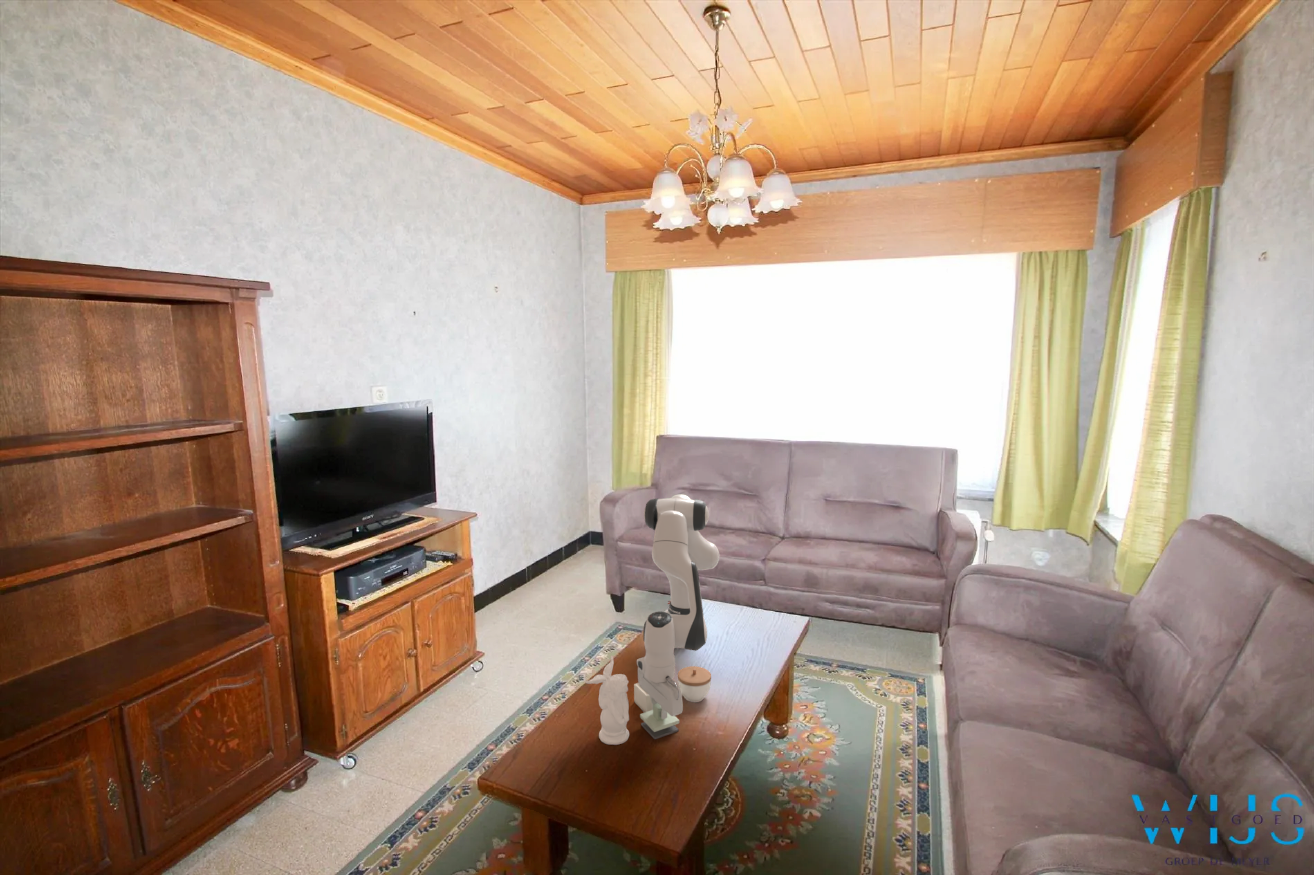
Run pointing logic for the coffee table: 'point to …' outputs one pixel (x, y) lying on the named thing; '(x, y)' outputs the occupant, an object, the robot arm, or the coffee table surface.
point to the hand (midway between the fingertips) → (659, 714)
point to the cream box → (642, 698)
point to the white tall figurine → (612, 706)
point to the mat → (659, 733)
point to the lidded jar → (694, 683)
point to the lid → (658, 719)
